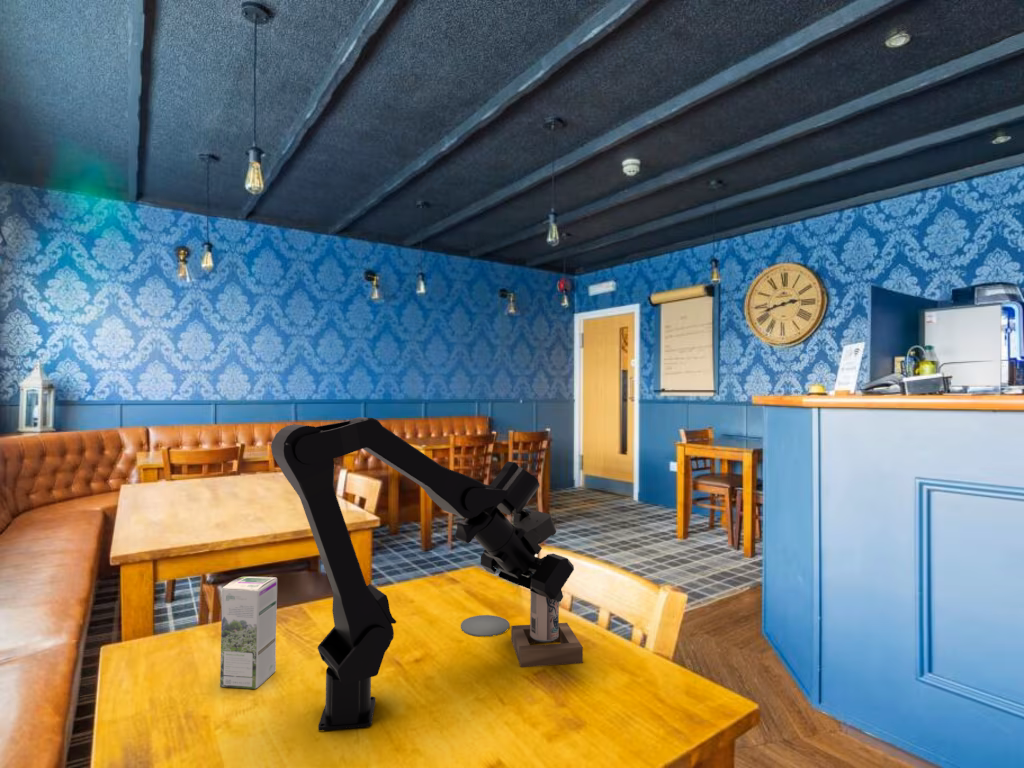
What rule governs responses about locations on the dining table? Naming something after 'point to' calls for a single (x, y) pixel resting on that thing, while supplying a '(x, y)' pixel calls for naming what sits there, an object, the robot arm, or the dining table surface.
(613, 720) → the dining table surface
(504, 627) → the coaster
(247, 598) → the syrup box
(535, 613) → the beer can
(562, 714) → the dining table surface
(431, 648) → the dining table surface
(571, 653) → the socket block
